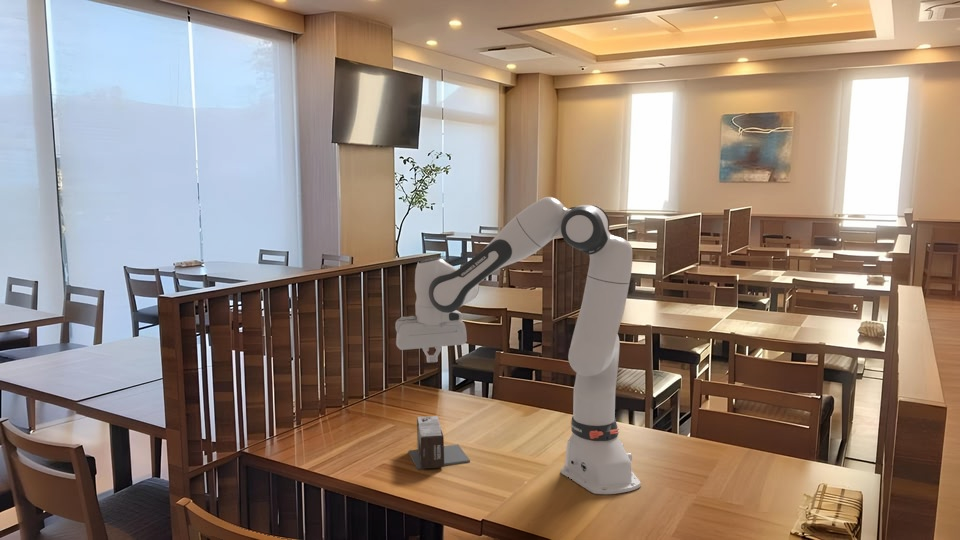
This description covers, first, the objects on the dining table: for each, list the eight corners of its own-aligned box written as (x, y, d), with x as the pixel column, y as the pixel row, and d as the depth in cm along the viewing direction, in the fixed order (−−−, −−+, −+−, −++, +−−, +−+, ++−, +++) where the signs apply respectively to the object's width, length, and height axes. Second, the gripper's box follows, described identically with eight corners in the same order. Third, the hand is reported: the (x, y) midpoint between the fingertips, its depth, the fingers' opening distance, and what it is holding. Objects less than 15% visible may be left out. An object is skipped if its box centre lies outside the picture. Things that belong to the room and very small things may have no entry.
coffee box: (438, 444, 199) (444, 468, 184) (416, 446, 198) (421, 469, 183) (438, 415, 198) (444, 436, 182) (416, 416, 197) (420, 437, 181)
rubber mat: (469, 462, 188) (469, 460, 188) (417, 469, 184) (417, 467, 184) (458, 446, 200) (458, 444, 200) (408, 452, 195) (408, 450, 195)
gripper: (397, 319, 186) (398, 368, 188) (468, 314, 192) (468, 361, 194) (393, 315, 192) (394, 362, 194) (461, 310, 198) (462, 356, 200)
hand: (432, 361), depth 194 cm, fingers closed
